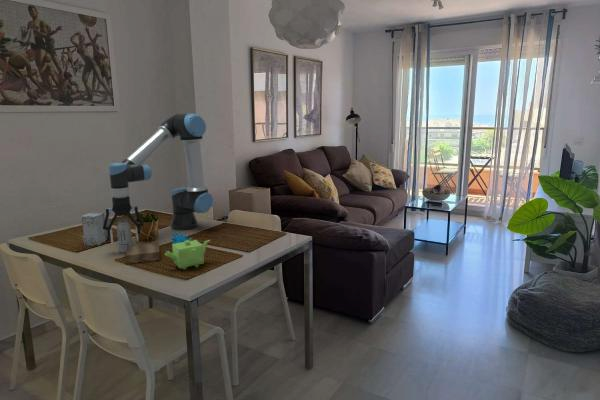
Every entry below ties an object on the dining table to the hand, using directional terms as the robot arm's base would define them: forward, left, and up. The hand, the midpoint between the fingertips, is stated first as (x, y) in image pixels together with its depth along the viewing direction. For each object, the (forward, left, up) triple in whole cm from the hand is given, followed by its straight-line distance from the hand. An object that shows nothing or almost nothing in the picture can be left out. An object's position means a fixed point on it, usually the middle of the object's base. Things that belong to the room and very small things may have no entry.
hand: (125, 241), depth 195 cm
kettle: (-27, +31, -5) cm, 41 cm away
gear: (-26, +5, -5) cm, 27 cm away
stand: (-8, +12, -5) cm, 15 cm away
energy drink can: (0, 0, -5) cm, 5 cm away
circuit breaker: (+14, -23, -5) cm, 27 cm away
